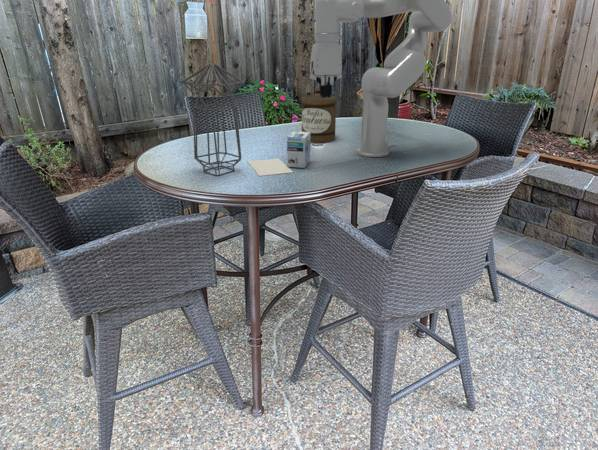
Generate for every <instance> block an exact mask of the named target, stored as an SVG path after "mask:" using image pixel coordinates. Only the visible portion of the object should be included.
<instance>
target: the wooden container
mask: <svg viewBox="0 0 598 450" xmlns="http://www.w3.org/2000/svg"><path fill="white" fill-rule="evenodd" d="M336 100H337V99H336V96H334V95H331V97H325V98H323V97H321V95H320V87H316V88H315V89H314V94H312V95H311V94H309V95H304V96H301V132H311V141H310V143H314V144H321V143H322V144H323V143H331V142H333V141H335V140H336V123H337V122H336V103H337V101H336Z"/></svg>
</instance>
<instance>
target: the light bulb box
mask: <svg viewBox="0 0 598 450" xmlns="http://www.w3.org/2000/svg"><path fill="white" fill-rule="evenodd" d="M310 141H311V132H302V131H298V130H293V131H292V132H290V134H289V135H288V136H287V137H286V147H287V148H286V153H287V154H286V166H287V167H289V168H301V169H306V168H307V166H308V164H309V163H310V162H311V142H310Z"/></svg>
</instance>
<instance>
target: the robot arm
mask: <svg viewBox="0 0 598 450" xmlns="http://www.w3.org/2000/svg"><path fill="white" fill-rule="evenodd" d="M410 12H411V14H410V16H409V20H408V31H407V35H406V37H405V38H404V39H403V41H402V42H401V43H400V44H398V46H396V47H395V48H394V49H393V50H392V51H391V52H390V53H389V54H388V55H387V56H386V58H385V59H384V62H383V67H372V68H368V69H367V70H366V71H365V72H364V73H363V75H362V77H361V93H362V116H361V133H360V136H361V137H360V147H358V148H357V149H356V155H359V156H362V157H366V158H367V157H368V158H380V157H386V156H388V155H389V154H390V150H389V149H390V148H397V145H398V144H397V142H396V141H395V142H390V141H387V129H388V128H387V127H388V120H389V119H388V117H389V100H388V98H390V99H393V98H398V97H399V96H401V95H402V94H403V93H404V92H405V91H406V90H408V89H409V88H410V87H412V85H413V84H414V83H415V82H416V81H417V80H418V79H420V77H421V76H422V74H423V73H424V71H425V69H426V65H427V58H426V54H424V53H425V52H426V48H427V33H440V32H444V31H445V30H447V29H448V28H449V27H450V26H451V24H452V20H453V14H452V9H451V8H450V6H449V5H448V3H447V2H446V1H445V0H316V2H315V35H314V37H315V39H314V40H315V43H313V44H312V46H311V47H312V48H311V53H310V63H309V64H310V65H309V72H310V75H309V79H311V80H313V81H316V82H317V84H318V85H319V88H320V95H321V97H323V98H325V97H331V96H332V94H333V86H334V83H335V82H336V81H337V80H339V79H341V78H342V77H343V74H342V71H343V70H342V69H343V68H342V67H343V65H342V63H343V59H342V48H341V44H340V43H339V42H340V41H341V40H342V39H343V36H342V35H341V34H340V33H339V28H340V27H339V24H340V23H356V22H357V21H359V20H360V19H377V18H378V19H379V18H384V17H385V18H386V17H389V16H394V15H400V14H405V13H410ZM325 77H327V82H326V83H325Z"/></svg>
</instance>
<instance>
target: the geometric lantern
mask: <svg viewBox="0 0 598 450" xmlns="http://www.w3.org/2000/svg"><path fill="white" fill-rule="evenodd" d="M210 74H211V75H210ZM197 75H198V76H197ZM195 76H196V78H195V79H194V80H193V81H192V80H190V79H192V78H194V77H195ZM205 76H206V77H205ZM229 76H230V77H231V78H233V79H234V80H236V81H233V80H232V79H231V78H230V77H229ZM204 77H205V80H204V81H203V79H204ZM213 77H214V79H213ZM219 81H220V82H221V83H222V84H220V82H219ZM216 82H217V83H216ZM181 83H183V85H184V86H185V87H186V89H188V90H189V91H190V93H191V95H192V96H191V97H192V98H194V96H195V95H197V96H196V100H195V102H194V101H192V121H193V122H192V123H193V125H192V126H193V155H194V157H193V158H194V160H196V161H197V162H198V163H199V164H200V165H201V166H202V168H203V169H202V171H203V173H205V174H209V175H211V176H215V177H220V176H223V175H226V174H229V173H233V172H235V166H236V165H238V163H239V162H240V161H242V150H241V139H240V130H239V129H240V127H239V119H238V110H237V108H238V106H237V105H235V101H234V95H233V93H236V91H237V90H238V89H239V88H240V87H241V85H243V84H246V81H244V80H242V79H241V78H239V77H238V76H236V75H234V74H233V73H231V72H229V71H228V70H226V69H224V68H223V67H221V66H219V65H218V64H216V63H208V64H207V65H205V66H203V67H202V68H200V69H199V70H197V71H195V72H194V73H192V74H191V75H190V76H187V78H185V79H183V80H182V81H181ZM205 86H206V88H205V89H204V87H205ZM208 86H209V87H208ZM215 86H217V87H219V88H220V90H218V89H217V88H216V87H215ZM232 86H234V87H233V88H232ZM197 87H198V88H197ZM222 87H225V89H226V90H227V92H224V93H223V91H222V90H223V89H222ZM211 88H212V89H213V90H215V92H217V94H218V95H217V97H216V98H215V99H214V98H213V96H212V95H211V94H210V92H209V91H210V89H211ZM193 89H194V91H195V92H194V91H193ZM201 92H206V93H207V95H208V96H209V97H210V98H211V99H212V101H213V103H208V104H206V103H205V102H204V100H203V98H202V97H201V95H200V93H201ZM220 96H222V97H223V96H224V98H223V100H222V102H221V103H217V100H218V99H219V97H220ZM227 96H229V99H230V101H231V104H230V105H229V104H224V103H225V102H226V99H227ZM199 100H200V101H201V103H202V104H201V105H198V103H199ZM194 103H195V105H194ZM208 106H211V107H210V108H208ZM214 106H216V108H214V109H212V108H213V107H214ZM219 106H221V107H220V108H219ZM224 106H226V107H224ZM202 107H204V108H202ZM198 110H204V111H205V113H206V114H205V115H206V133H207V134H206V136H207V141H206V142H207V154H203V155H198ZM224 110H233V111H232V112H233V119H234V120H233V121H234V127H235V129H234V130H235V135H236V136H235V137H236V143H237V153H238V154H237V155H236V154H234V153H233V154H232V153H229V152H228V151H227V142H226V141H227V139H226V127H225V117H224V116H225V115H224ZM209 111H210V113H211V122H212V129H213V139H214V149H215V150H214V151H215V152H212V153H210V152H211V151H210V149H211V148H210V134H209V132H210V126H209ZM214 111H216V125H215V120H214ZM219 111H221V118H222V130H223V131H222V132H223V140H224V141H223V142H224V151H223V152H221V151H220V133H219V132H220V131H219V130H220V129H219V127H220V126H219V125H220V124H219V123H220V122H219ZM215 126H216V128H215ZM216 129H217V130H216ZM216 135H217V137H216ZM220 154H222V155H223V157H222V159H220ZM214 155H215V159H216V161H214V162H211V156H214ZM227 155H228V156H232V157H235V159H232V160H225V161H224V159H225V157H226V156H227ZM204 157H207V160H208V161H205V160H202V159H200V158H204ZM236 158H237V159H236ZM233 162H234V163H233ZM223 164H226V165H229V166H224V165H223ZM213 165H216V166H213ZM231 167H232V168H231ZM205 168H206V169H205ZM222 169H229V170H231V171H227V172H224V173H221V171H220V170H222ZM209 170H214V172H215V174H214V173H212V172H210V171H209ZM208 171H209V172H208ZM217 171H218V172H217ZM217 173H218V174H217Z"/></svg>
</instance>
